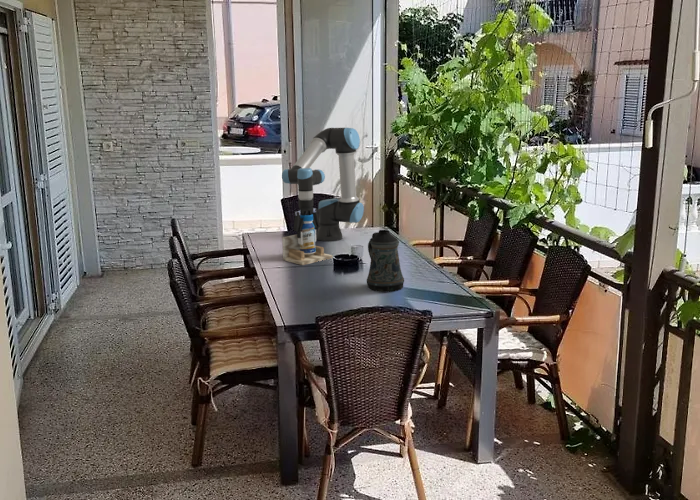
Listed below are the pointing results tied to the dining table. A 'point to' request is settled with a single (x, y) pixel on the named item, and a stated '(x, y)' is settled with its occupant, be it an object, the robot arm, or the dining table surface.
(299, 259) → the wooden display stand
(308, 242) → the beverage bottle
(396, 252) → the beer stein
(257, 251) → the dining table surface
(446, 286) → the dining table surface
